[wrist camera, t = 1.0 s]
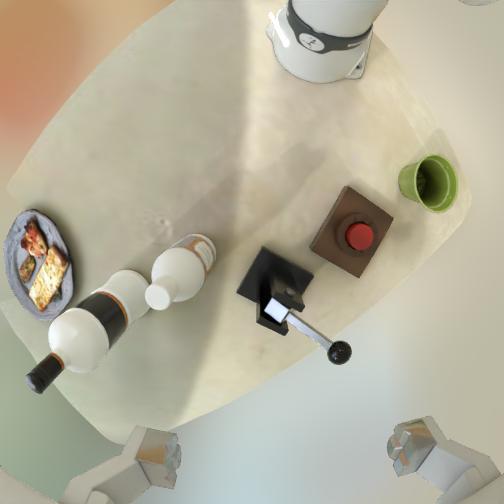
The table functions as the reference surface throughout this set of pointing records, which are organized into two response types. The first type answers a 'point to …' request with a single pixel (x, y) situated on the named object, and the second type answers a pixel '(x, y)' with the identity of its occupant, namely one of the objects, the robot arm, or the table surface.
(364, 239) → the button
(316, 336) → the lever
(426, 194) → the plant pot
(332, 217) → the button block
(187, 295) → the bath foam
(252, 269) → the tap bracket
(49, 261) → the food plate
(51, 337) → the vodka
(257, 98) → the table surface
